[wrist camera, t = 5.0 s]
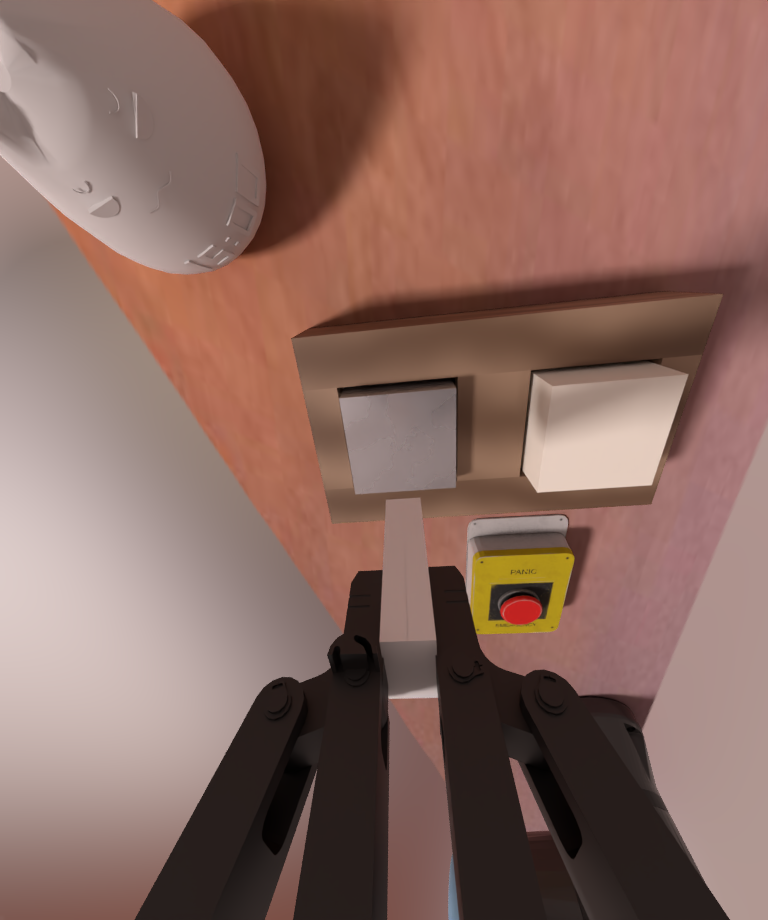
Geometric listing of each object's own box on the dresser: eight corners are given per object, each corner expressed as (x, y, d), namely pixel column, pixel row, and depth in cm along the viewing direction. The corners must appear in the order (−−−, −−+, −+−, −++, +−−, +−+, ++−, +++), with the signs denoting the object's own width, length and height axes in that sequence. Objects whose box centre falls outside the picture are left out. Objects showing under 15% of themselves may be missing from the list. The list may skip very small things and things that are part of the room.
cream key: (619, 459, 24) (651, 485, 21) (519, 466, 24) (537, 492, 21) (646, 360, 21) (688, 374, 18) (530, 371, 21) (552, 386, 18)
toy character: (228, 311, 23) (91, 338, 13) (77, 182, 20) (-269, 77, 10) (317, 171, 20) (227, 46, 9) (149, -15, 16) (-293, -542, 6)
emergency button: (470, 654, 35) (476, 547, 28) (463, 617, 39) (466, 515, 32) (561, 652, 34) (591, 542, 27) (545, 615, 38) (567, 510, 31)
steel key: (448, 463, 26) (455, 487, 23) (359, 470, 26) (355, 494, 23) (448, 373, 23) (456, 388, 20) (346, 383, 23) (339, 398, 20)
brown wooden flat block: (615, 473, 29) (651, 504, 25) (340, 491, 30) (332, 523, 26) (664, 291, 22) (723, 293, 18) (308, 328, 24) (291, 338, 20)
